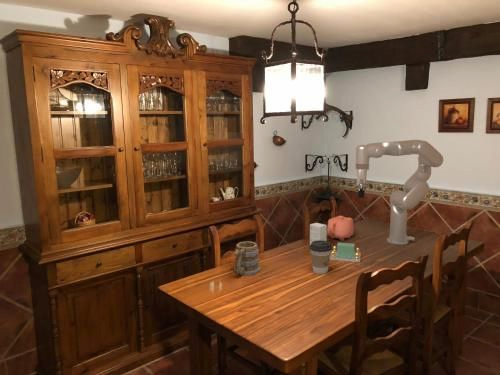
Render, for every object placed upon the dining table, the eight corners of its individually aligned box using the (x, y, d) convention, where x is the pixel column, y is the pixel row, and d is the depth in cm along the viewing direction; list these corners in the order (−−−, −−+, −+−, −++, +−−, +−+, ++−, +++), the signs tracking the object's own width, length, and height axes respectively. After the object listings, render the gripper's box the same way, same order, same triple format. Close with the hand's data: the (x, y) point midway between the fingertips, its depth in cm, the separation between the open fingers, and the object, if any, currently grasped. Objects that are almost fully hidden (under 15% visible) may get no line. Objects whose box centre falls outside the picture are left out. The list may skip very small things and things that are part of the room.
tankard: (241, 264, 224) (241, 237, 221) (263, 268, 218) (263, 240, 216) (223, 278, 206) (222, 249, 203) (246, 282, 201) (245, 252, 198)
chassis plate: (360, 254, 236) (360, 247, 235) (360, 262, 224) (360, 254, 224) (331, 252, 240) (331, 245, 239) (329, 259, 229) (329, 252, 228)
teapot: (341, 231, 279) (342, 211, 276) (358, 235, 270) (359, 214, 267) (322, 239, 263) (322, 217, 261) (339, 243, 255) (340, 221, 252)
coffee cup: (323, 277, 205) (324, 248, 202) (304, 272, 212) (304, 243, 209) (336, 270, 213) (336, 242, 210) (317, 265, 220) (317, 238, 218)
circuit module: (354, 254, 233) (354, 243, 232) (353, 257, 228) (354, 246, 227) (337, 252, 236) (338, 242, 234) (336, 255, 231) (337, 245, 230)
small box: (326, 246, 251) (327, 225, 248) (319, 248, 247) (319, 227, 244) (316, 242, 257) (316, 222, 255) (309, 245, 253) (309, 224, 251)
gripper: (356, 164, 251) (355, 192, 254) (354, 168, 235) (354, 198, 238) (369, 164, 249) (368, 193, 252) (368, 169, 233) (367, 199, 236)
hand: (361, 195), depth 245 cm, fingers open, 9 cm apart
